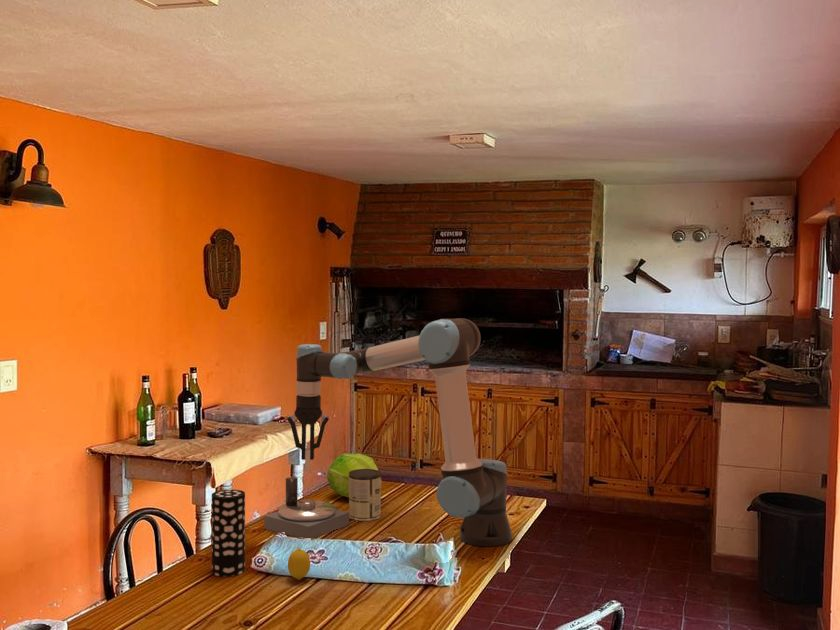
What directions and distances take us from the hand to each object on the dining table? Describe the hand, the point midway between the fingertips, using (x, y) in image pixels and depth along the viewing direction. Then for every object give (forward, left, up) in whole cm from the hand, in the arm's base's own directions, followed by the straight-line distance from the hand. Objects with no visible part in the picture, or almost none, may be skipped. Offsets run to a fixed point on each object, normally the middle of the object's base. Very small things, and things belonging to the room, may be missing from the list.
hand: (307, 469), depth 250 cm
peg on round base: (-4, +5, -12) cm, 13 cm away
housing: (-4, +5, -16) cm, 17 cm away
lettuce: (+5, -29, -16) cm, 33 cm away
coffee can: (-11, -14, -16) cm, 24 cm away
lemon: (-32, +38, -16) cm, 53 cm away
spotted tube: (-13, +44, -16) cm, 49 cm away
